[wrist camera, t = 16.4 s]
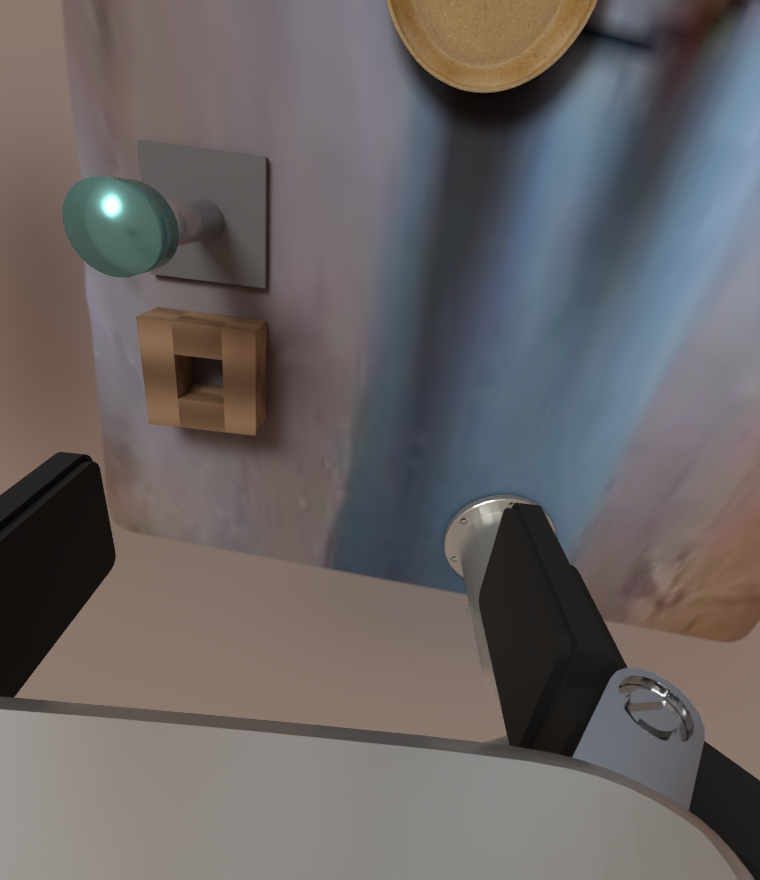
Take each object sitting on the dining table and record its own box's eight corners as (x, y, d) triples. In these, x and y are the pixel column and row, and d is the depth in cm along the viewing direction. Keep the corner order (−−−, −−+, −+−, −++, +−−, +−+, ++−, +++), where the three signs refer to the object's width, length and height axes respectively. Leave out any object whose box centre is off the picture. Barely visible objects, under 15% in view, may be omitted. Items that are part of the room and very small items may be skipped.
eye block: (266, 418, 47) (255, 435, 44) (167, 406, 47) (149, 423, 43) (266, 320, 43) (255, 331, 39) (157, 307, 42) (136, 317, 39)
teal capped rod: (235, 190, 37) (152, 183, 24) (236, 255, 40) (161, 282, 26) (173, 181, 37) (54, 170, 24) (178, 248, 40) (71, 271, 26)
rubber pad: (266, 287, 41) (265, 288, 41) (154, 273, 41) (150, 274, 41) (267, 157, 37) (265, 157, 36) (140, 140, 37) (137, 139, 36)
